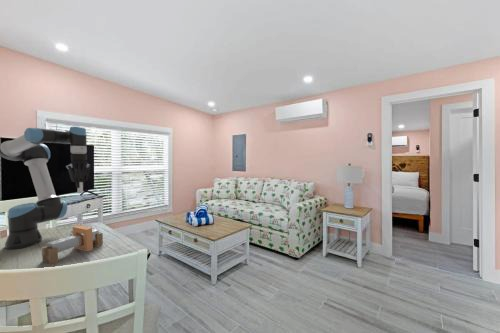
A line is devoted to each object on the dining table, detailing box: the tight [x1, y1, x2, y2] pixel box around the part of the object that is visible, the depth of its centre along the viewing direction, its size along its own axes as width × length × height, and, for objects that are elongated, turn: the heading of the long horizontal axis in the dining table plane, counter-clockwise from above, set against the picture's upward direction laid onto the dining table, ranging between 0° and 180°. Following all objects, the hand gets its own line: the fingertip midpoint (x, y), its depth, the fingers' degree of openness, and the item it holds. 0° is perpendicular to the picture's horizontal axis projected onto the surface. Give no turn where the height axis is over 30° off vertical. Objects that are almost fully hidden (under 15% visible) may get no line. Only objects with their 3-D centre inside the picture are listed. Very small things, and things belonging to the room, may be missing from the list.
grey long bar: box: [46, 228, 100, 254], centre depth 116 cm, size 5×22×5 cm, turn 158°
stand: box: [41, 231, 104, 265], centre depth 116 cm, size 7×25×7 cm, turn 158°
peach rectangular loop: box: [72, 224, 94, 252], centre depth 120 cm, size 12×3×12 cm, turn 68°
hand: (80, 193), depth 127 cm, fingers closed
